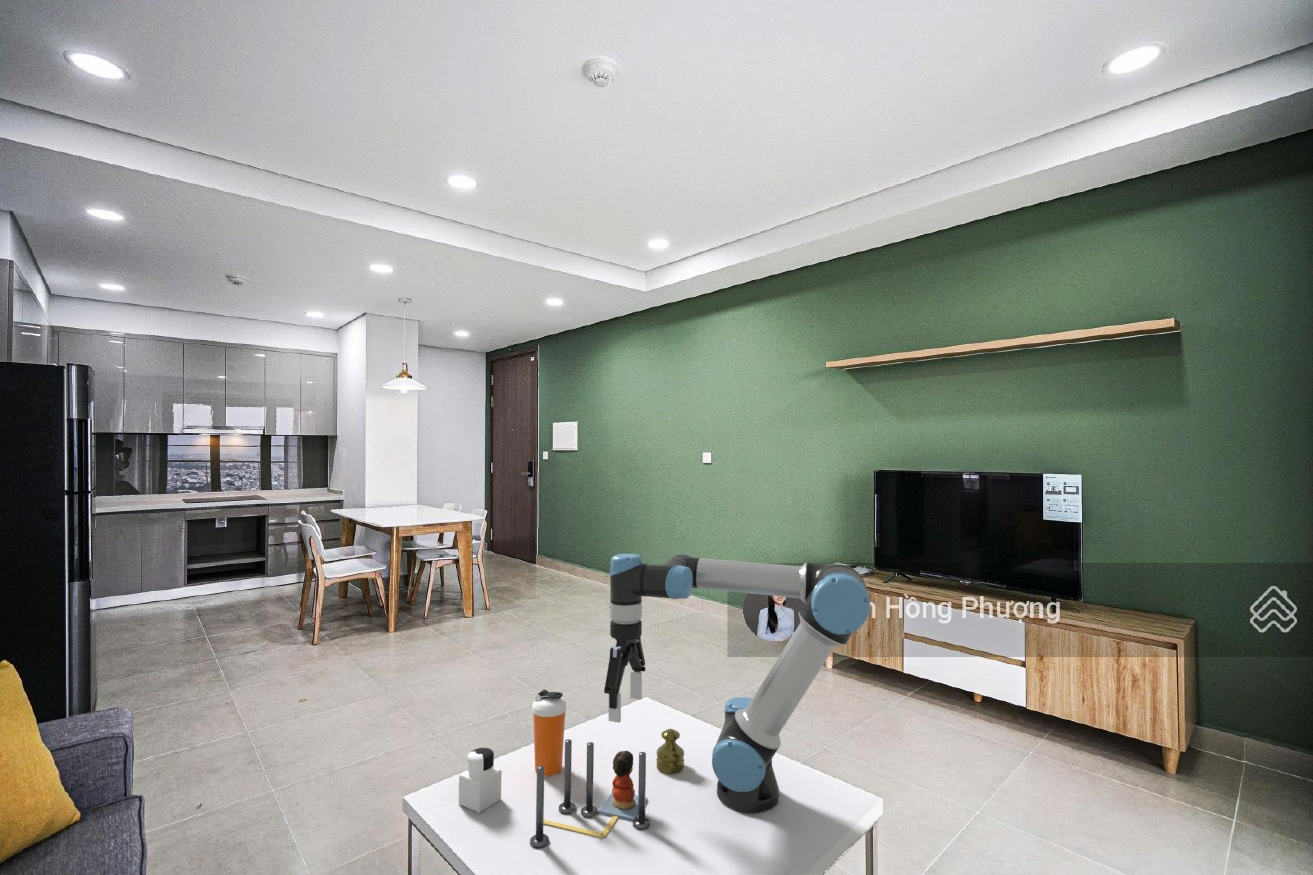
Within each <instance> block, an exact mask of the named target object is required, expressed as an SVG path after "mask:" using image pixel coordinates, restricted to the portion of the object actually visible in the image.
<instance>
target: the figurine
mask: <svg viewBox="0 0 1313 875" xmlns="http://www.w3.org/2000/svg"><path fill="white" fill-rule="evenodd" d="M633 767H634V754H633V753H632V752H631V751H629V750H620V751H618V752H616V754H615V756H614V757H613V759H612V770H613V772H614V774H615V776H614V778H613V779H612V788H611V793H612V792H613V797H614V798H613V801H612V803H613V806H614V807H617V808H620V809H629V808H631V807H633V806H634V805H635V803H636V802H635V800H634V799H633V798H634V795H636V794H635V793H636V790H635V788H634V787H635V785H634V782H633V780H632V778H631V776H630V775H631V773H632V772H633Z"/></svg>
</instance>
